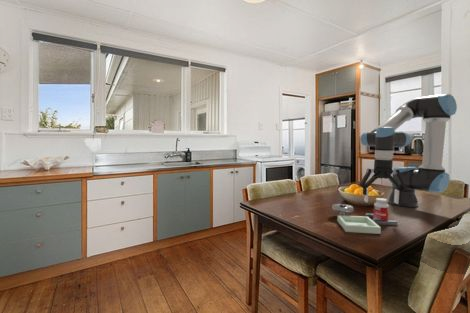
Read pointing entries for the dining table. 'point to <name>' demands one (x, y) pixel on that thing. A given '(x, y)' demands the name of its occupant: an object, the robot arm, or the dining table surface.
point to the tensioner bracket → (382, 221)
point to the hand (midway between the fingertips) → (380, 202)
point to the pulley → (342, 208)
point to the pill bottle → (381, 209)
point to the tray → (358, 224)
